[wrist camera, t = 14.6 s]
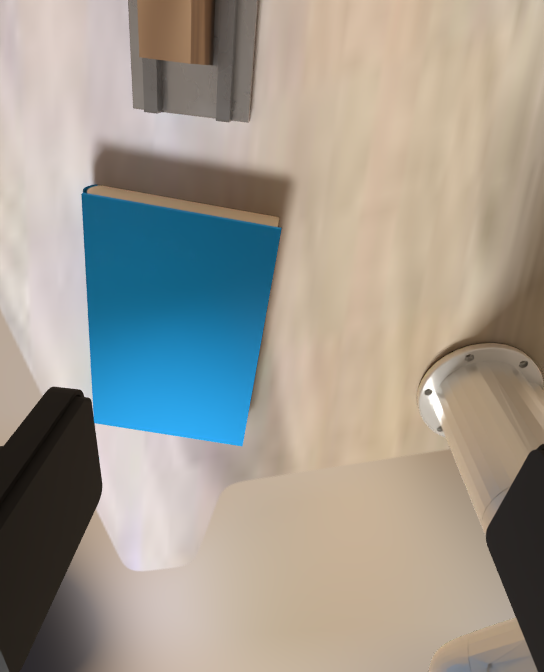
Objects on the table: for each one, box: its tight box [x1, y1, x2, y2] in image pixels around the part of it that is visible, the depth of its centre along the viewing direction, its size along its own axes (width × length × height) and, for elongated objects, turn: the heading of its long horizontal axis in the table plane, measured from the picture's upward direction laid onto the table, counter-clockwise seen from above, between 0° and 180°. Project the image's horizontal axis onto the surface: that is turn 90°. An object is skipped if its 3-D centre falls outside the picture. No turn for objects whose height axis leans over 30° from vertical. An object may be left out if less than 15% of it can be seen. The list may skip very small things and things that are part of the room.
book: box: [82, 185, 282, 446], centre depth 44 cm, size 17×4×25 cm
